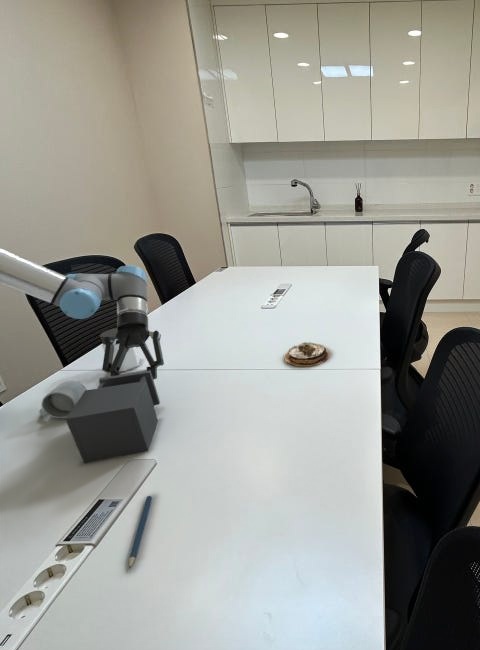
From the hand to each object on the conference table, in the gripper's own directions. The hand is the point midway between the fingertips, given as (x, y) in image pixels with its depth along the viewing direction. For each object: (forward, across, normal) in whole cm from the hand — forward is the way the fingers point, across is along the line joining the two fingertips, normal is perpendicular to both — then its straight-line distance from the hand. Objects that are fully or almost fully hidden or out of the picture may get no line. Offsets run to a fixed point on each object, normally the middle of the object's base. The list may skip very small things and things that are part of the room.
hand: (134, 393), depth 103 cm
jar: (-17, +10, -22) cm, 30 cm away
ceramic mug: (0, +19, -6) cm, 19 cm away
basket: (+5, 0, 0) cm, 5 cm away
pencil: (+34, -10, +28) cm, 46 cm away
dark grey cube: (+14, 0, +8) cm, 16 cm away
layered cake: (-7, -48, -13) cm, 50 cm away
